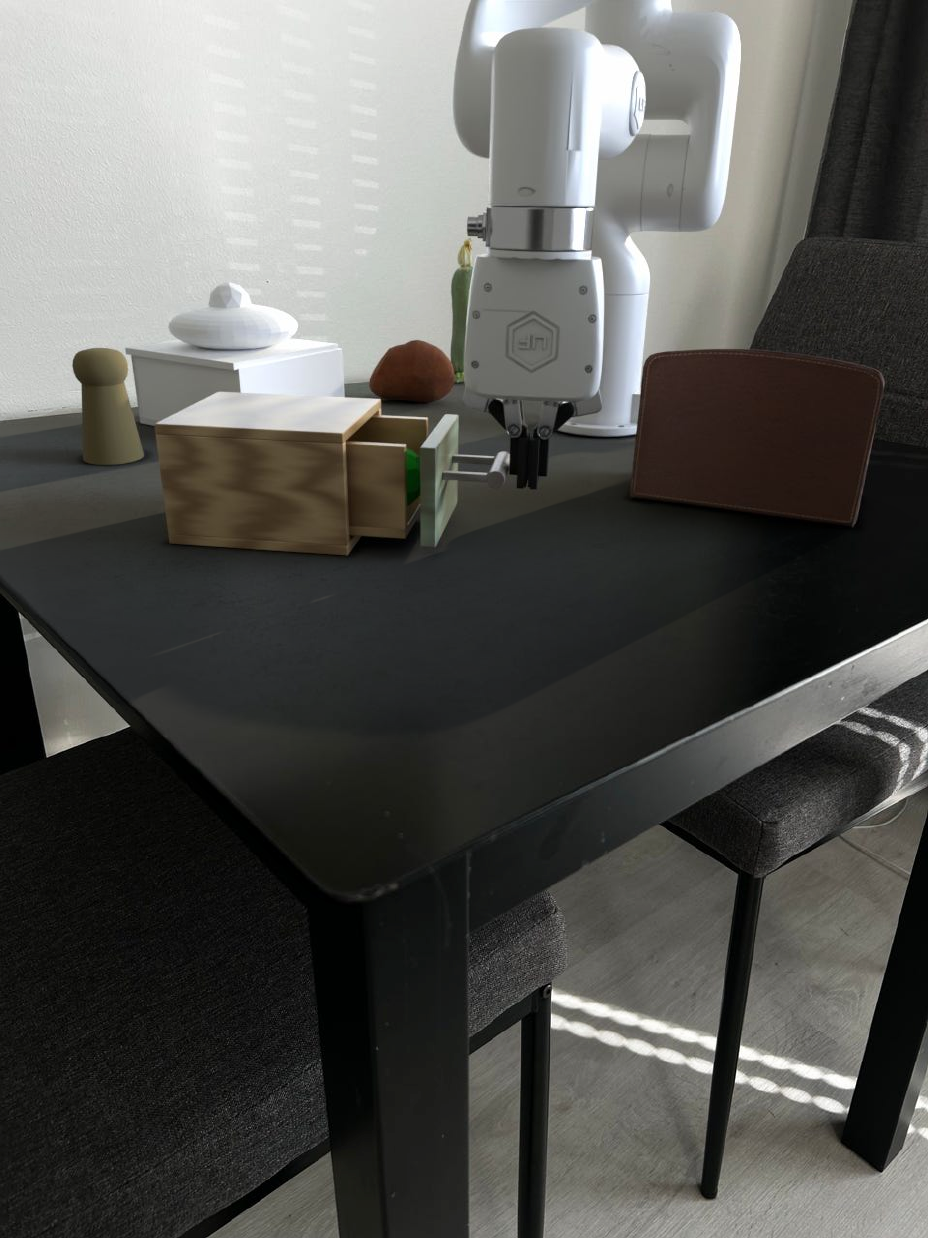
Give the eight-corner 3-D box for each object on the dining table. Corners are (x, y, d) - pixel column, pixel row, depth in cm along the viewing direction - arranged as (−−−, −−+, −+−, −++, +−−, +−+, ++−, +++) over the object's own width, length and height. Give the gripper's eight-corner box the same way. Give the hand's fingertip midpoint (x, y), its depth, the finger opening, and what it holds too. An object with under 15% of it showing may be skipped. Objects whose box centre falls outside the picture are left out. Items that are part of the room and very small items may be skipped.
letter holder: (855, 528, 78) (890, 360, 73) (627, 499, 85) (642, 343, 79) (855, 496, 87) (887, 343, 81) (648, 472, 93) (663, 329, 87)
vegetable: (449, 378, 139) (450, 236, 130) (477, 378, 139) (480, 236, 130) (451, 384, 135) (452, 237, 126) (480, 384, 135) (483, 238, 126)
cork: (125, 466, 92) (108, 354, 88) (71, 462, 93) (52, 351, 89) (154, 451, 98) (141, 345, 93) (103, 448, 99) (87, 343, 94)
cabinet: (383, 506, 82) (381, 398, 78) (347, 555, 71) (342, 433, 67) (228, 496, 84) (218, 391, 80) (169, 543, 73) (153, 423, 69)
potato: (373, 393, 128) (372, 334, 124) (455, 395, 127) (456, 336, 124) (366, 405, 121) (364, 342, 117) (453, 407, 120) (454, 344, 117)
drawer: (512, 506, 80) (516, 417, 76) (498, 552, 70) (502, 451, 66) (309, 494, 82) (304, 407, 79) (266, 536, 72) (258, 438, 68)
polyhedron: (351, 460, 74) (375, 428, 70) (405, 469, 77) (431, 438, 73) (357, 514, 72) (382, 484, 69) (412, 522, 75) (439, 493, 71)
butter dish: (345, 415, 115) (339, 281, 108) (241, 444, 101) (228, 293, 94) (244, 398, 123) (233, 273, 116) (135, 423, 109) (116, 282, 103)
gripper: (427, 234, 63) (427, 492, 70) (648, 239, 61) (623, 504, 68) (444, 231, 69) (442, 467, 77) (643, 235, 68) (621, 476, 75)
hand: (527, 483), depth 73 cm, fingers closed
